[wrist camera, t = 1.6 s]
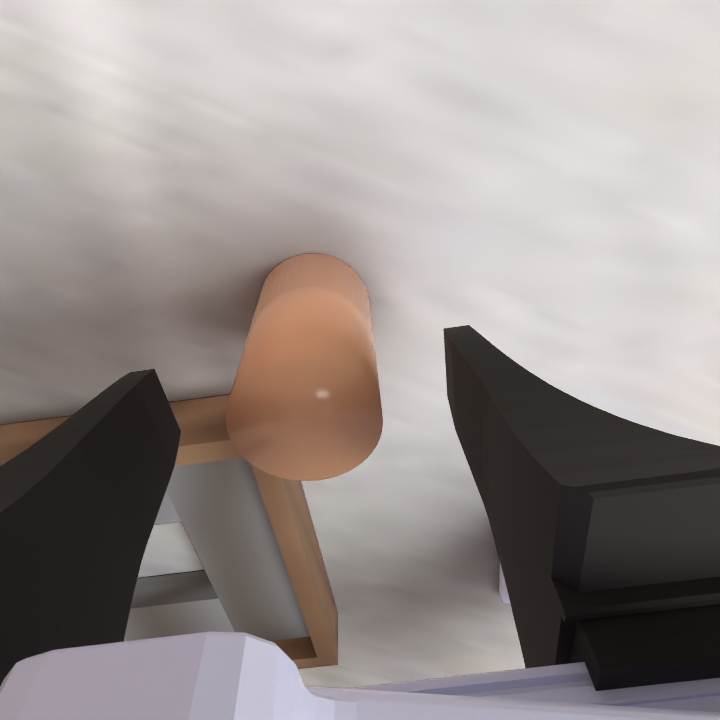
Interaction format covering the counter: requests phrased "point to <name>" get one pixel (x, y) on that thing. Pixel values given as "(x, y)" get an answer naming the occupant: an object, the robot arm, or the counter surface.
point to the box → (228, 545)
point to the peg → (308, 374)
